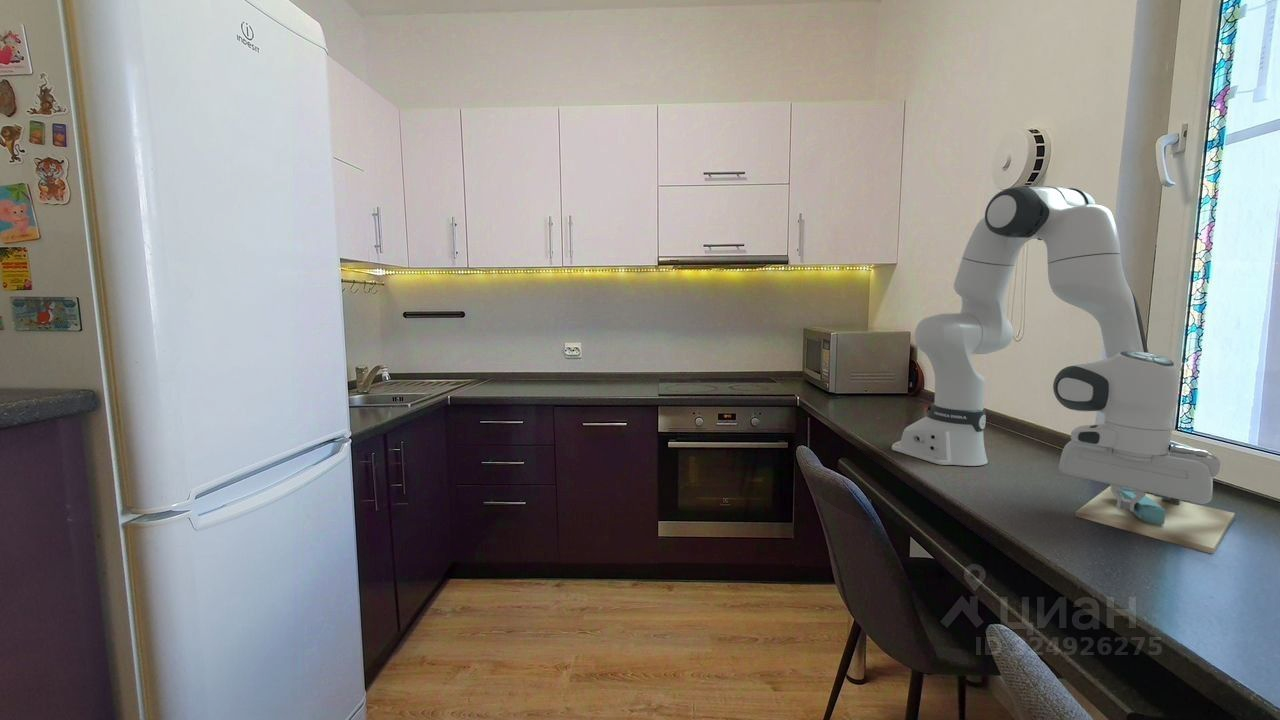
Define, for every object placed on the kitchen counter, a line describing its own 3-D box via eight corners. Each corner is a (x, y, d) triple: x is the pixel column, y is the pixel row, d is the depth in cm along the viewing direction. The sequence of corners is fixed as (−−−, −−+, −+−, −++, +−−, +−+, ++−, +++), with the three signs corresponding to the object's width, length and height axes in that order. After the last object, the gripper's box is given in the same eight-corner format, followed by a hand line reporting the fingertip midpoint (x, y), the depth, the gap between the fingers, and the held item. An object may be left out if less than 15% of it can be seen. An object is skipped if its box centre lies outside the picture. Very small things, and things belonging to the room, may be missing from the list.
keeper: (1150, 512, 93) (1153, 488, 93) (1164, 498, 100) (1166, 475, 99) (1168, 516, 91) (1171, 492, 91) (1181, 502, 98) (1184, 479, 97)
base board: (1075, 516, 94) (1076, 499, 94) (1110, 489, 107) (1111, 474, 107) (1213, 554, 80) (1215, 533, 79) (1234, 518, 93) (1236, 500, 92)
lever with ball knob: (1105, 493, 101) (1106, 479, 101) (1133, 496, 99) (1134, 482, 99) (1140, 522, 88) (1142, 505, 88) (1173, 526, 86) (1175, 510, 86)
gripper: (1223, 449, 84) (1211, 524, 85) (1069, 425, 100) (1061, 488, 102) (1220, 457, 80) (1208, 535, 82) (1060, 430, 96) (1053, 496, 98)
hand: (1125, 509), depth 92 cm, fingers closed
